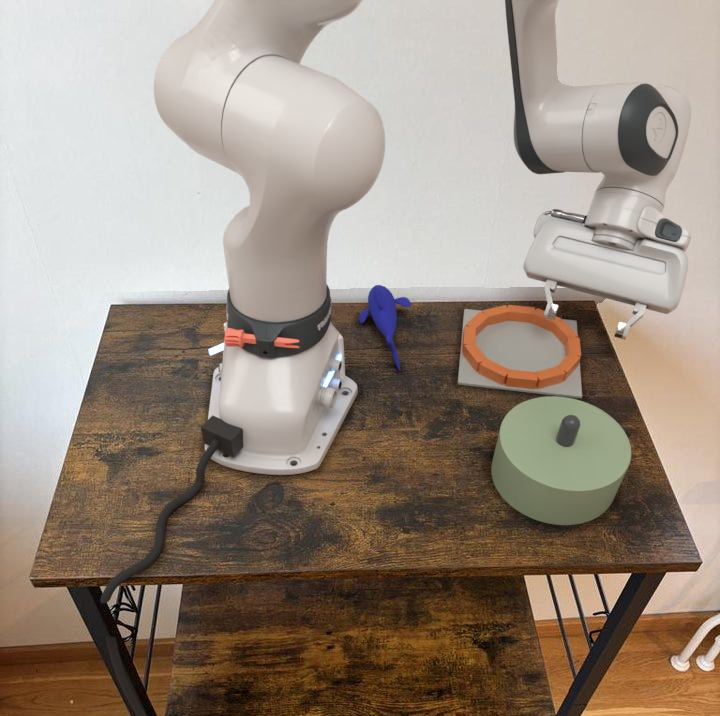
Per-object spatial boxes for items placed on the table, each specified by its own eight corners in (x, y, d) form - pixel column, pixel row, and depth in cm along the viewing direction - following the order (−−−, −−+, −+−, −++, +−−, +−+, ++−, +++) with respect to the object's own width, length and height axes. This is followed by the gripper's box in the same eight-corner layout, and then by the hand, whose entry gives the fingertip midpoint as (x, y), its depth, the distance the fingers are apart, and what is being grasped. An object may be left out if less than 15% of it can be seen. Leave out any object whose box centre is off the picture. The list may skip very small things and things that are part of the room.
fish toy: (359, 314, 107) (344, 277, 102) (409, 297, 106) (396, 258, 101) (373, 382, 97) (357, 345, 92) (428, 364, 96) (414, 325, 91)
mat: (581, 398, 94) (582, 396, 94) (457, 384, 95) (457, 382, 95) (576, 322, 104) (576, 320, 104) (464, 310, 106) (464, 308, 105)
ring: (581, 394, 94) (584, 385, 93) (459, 381, 95) (461, 372, 94) (574, 320, 104) (577, 311, 103) (464, 309, 105) (466, 300, 104)
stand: (620, 533, 80) (649, 476, 73) (489, 516, 81) (504, 458, 74) (610, 439, 90) (634, 380, 82) (492, 425, 91) (506, 366, 83)
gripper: (541, 197, 94) (505, 301, 96) (704, 235, 89) (664, 345, 91) (543, 213, 100) (509, 311, 102) (696, 249, 95) (658, 352, 97)
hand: (583, 327), depth 96 cm, fingers open, 8 cm apart
